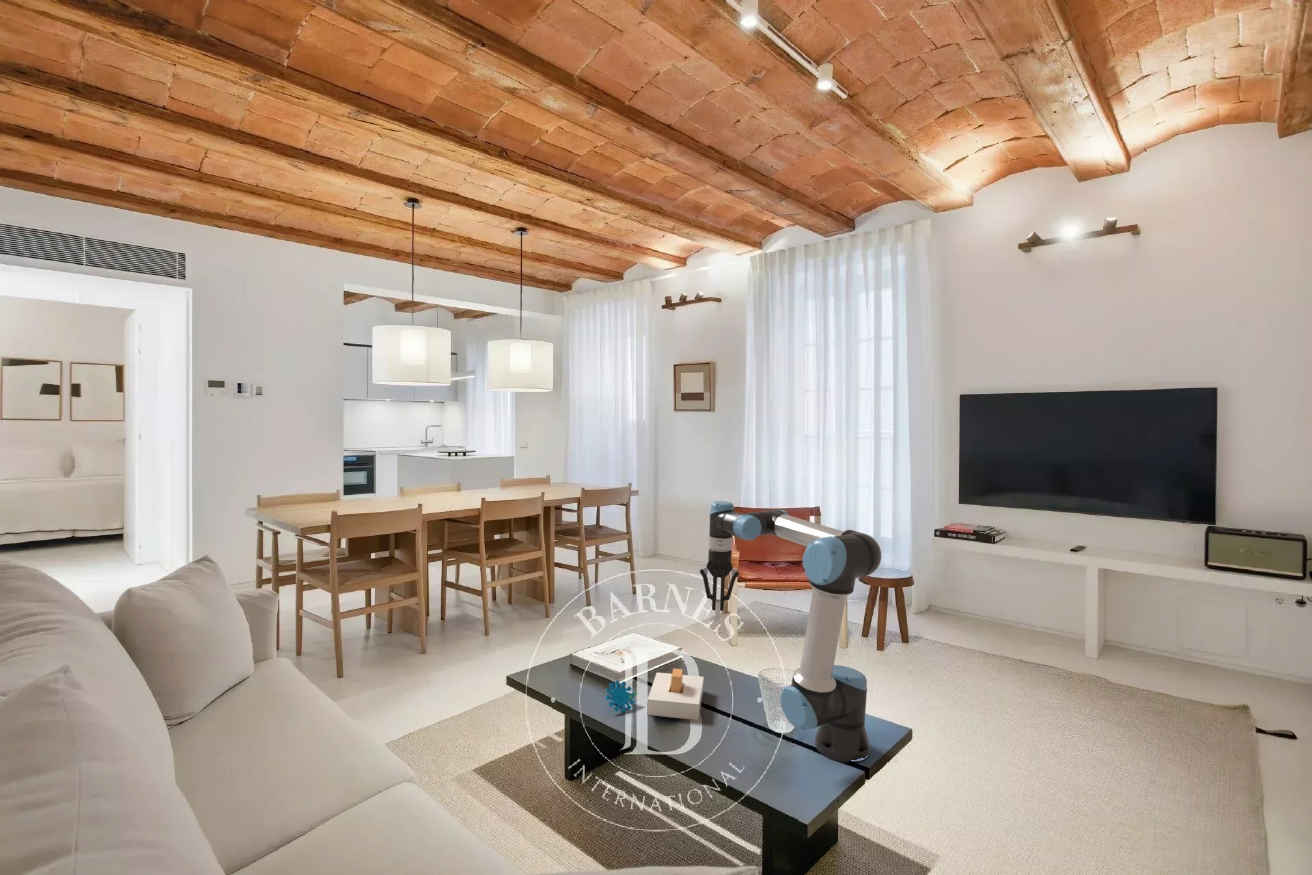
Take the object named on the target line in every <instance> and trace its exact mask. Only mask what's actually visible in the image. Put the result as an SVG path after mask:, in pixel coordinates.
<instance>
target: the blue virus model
mask: <svg viewBox="0 0 1312 875" xmlns="http://www.w3.org/2000/svg"><path fill="white" fill-rule="evenodd" d="M620 683H621V685H620V686H619V684H620ZM626 685H627V683H626V682H625V681H622V682H620V680H615V681H614V682H610V683H609V685H608V687H607V688H606V689H605V693H608V694H606V695H605V700H606V701H608V700H611V701H609V702H608V706H609V707H610V708H611V707H612V706H615V705H617V706H615V707H614V709H613V710H614V711H615V712H619V710H620V712H621V713H625V712H626V711H630V710H631V709H632V706H633V705H634V704H635V700H634V697H636V696H637V695H638V692H637V691H634V692H631V691H632V688H631V686H630V685H629V686H627V687H626ZM614 686H615V687H614ZM624 687H626V688H624ZM620 707H622V708H621V709H620Z"/></svg>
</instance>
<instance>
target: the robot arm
mask: <svg viewBox="0 0 1312 875" xmlns="http://www.w3.org/2000/svg"><path fill="white" fill-rule="evenodd" d="M709 511H710V512H709V536H708V548H709V549H708V556H707V557H708V558H707V560H708V561H707V563H706V566H704V567H701V568H700V570H699V573H700V575H701V576H702V579H703V585H704V589H705V594H706V595H705V596H706V598H707V599H709V600H711V610H712V611H715V614H714V622H720V620H721V612H723V611H724V610H725V609H724V608H725V601H729V600H730V599H731V596H732V591H733V589H734V585H735V582H736V579H737V578H738V576H739V574H740V571H739V570H738V569H735V568H734V567H733V566H734V565H733V564H732V556H733V555H732V554H733V553H732V552H733V551H732V548H733V537H735V538H739V539H741V540H747V541H754V540H755V539H756V538H758V537H759V536H768V535H770V536H771V535H772V536H775V537H778V538H781V539H784V540H787V541H789V542H792V543H795V544H798V545H801V546H804V547H806V548H805V551H804V553H803V556H802V567H803V569H805V571H804V574H805V576H806V578H807V579H808V584H809V585H810V587H811V588H812V595H811V601H810V607H809V613H808V618H807V625H806V631H805V637H804V640H803V641H804V642H803V648H802V654H801V659H800V660H801V661H800V667H799V668H796V669H795V670H794V672H793V674H792V679H791V685H787V686H785V687H784V688H783V689H782V690H781V693H780V699H779V700H780V706H781V708H782V711H783V714H784V716H785V718H786V719H787V721H788V722H789V723H790V724H791V725H792V726H793V727H794V728H796V729H797V730H801V731H808V730H813V729H816V728H817V731H816V733H815V739H814V741H815V742H814V745H815V746H814V747H815V748H816V749H817V751H818V752H819V753H820V754H821V755H823V756H825V757H827V758H828V759H831V760H833V761H837V762H842V763H848V762H849V761H851V760H857V759H860V758H865V757H866V756H868V754H869V752H870V750H871V746H870V740H869V737H868V736H869V735H868V734H867V730H866V727H865V726H866V725H865V724H866V722H865V721H866V712H867V711H866V710H867V709H866V707H867V693H868V684H867V683H868V679H867V678H866V675H864V673H863V672H862V671H860V670H857V669H854V668H852V667H849V666H844V665H840V664H835V662H836V655H837V649H838V644H839V643H838V642H839V638H840V634H841V633H840V632H841V628H842V623H843V616H844V612H845V605H846V601H847V598H848V597H849V596H850V595H852V594H853V593H854V589H855V583H856V580H857V579H860V578H864V577H868V576H870V575H872V574H873V573H875V571H876V570H878V568H879V566H880V564H881V561H882V550H881V547H880V544H878V542H877V541H876V539H874V537H872V536H871V535H869V534H867V533H865V532H861V531H856V530H853V529H847V530H839V529H836V528H833V527H831V526H830V527H829V526H826V525H822V524H819V523H816V522H813V521H809V520H805V519H802V518H799V517H797V516H791V515H790V513H788V511H786V510H784V509H771V510H765V511H764V510H762V511H755V512H754V511H753V512H752V511H751V512H737V511H735V508H734V504H733V503H732V502H730V501H725V500H723V501H721V500H717V501H713V502H712V503H711V504H710V510H709ZM708 572H709V574H710V575H711V576H712V593H711V589H710V588H711V587H710V583H709V579H708ZM730 573H731V574H730ZM729 574H730V575H731V578H730V582H729V585H728V588H727V592H726V594H725V590H726V589H725V588H726V587H725V586H726V578H727V576H728V575H729ZM719 578H720V594H719V596H720V598H717V594H718V593H717V591H718V579H719ZM869 755H870V754H869Z"/></svg>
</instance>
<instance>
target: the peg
mask: <svg viewBox="0 0 1312 875" xmlns="http://www.w3.org/2000/svg"><path fill="white" fill-rule="evenodd" d="M671 674H672V676H671V692H673V693H682V676H683V675H684V674H683V669H682V668H673V669H672V673H671Z"/></svg>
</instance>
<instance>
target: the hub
mask: <svg viewBox="0 0 1312 875" xmlns="http://www.w3.org/2000/svg"><path fill="white" fill-rule="evenodd" d="M671 676H672V673H668V672H667V673H666V672H656V674H655V676H654V680H653V682H652V686H651V689H650V692H649V694H648V697H647V703H646V704H647V705H646V706H647V708H646V710H647V711H646V715H647V716H655V717H656V716H657V717H667V718H673V719H685V720H693V721H699V718H700V713H701V706H702V700H703V693H704V681H705V680H704V678H705V676H700V675H699V676H698V675H689V674H688V675H686V674H683V676H682V693H673V692H671Z"/></svg>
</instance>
